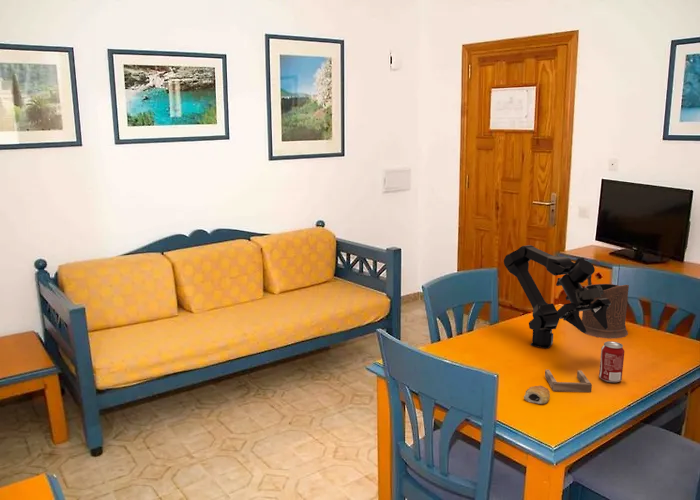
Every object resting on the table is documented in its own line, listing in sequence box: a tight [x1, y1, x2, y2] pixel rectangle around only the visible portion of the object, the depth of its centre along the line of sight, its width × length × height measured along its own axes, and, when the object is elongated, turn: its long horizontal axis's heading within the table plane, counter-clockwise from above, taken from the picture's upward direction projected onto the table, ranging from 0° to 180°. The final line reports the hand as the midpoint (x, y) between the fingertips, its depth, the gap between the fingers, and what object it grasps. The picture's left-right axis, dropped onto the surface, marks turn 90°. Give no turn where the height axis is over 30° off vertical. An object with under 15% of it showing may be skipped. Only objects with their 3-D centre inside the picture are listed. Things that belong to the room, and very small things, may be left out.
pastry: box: [523, 385, 551, 405], centre depth 184 cm, size 9×7×4 cm
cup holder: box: [577, 274, 630, 340], centre depth 242 cm, size 18×24×25 cm
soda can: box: [598, 340, 625, 384], centre depth 195 cm, size 7×7×12 cm
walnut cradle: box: [544, 369, 593, 393], centre depth 193 cm, size 11×11×2 cm
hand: (596, 330), depth 201 cm, fingers open, 9 cm apart
